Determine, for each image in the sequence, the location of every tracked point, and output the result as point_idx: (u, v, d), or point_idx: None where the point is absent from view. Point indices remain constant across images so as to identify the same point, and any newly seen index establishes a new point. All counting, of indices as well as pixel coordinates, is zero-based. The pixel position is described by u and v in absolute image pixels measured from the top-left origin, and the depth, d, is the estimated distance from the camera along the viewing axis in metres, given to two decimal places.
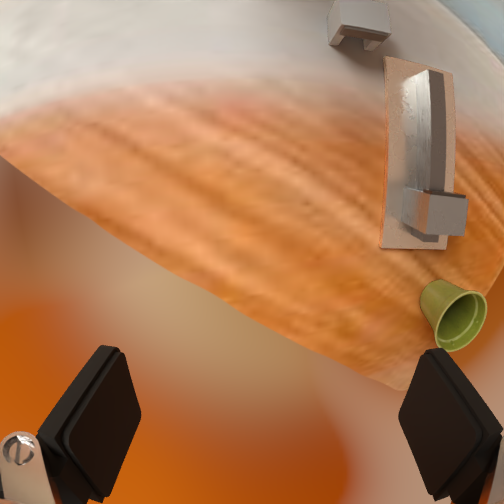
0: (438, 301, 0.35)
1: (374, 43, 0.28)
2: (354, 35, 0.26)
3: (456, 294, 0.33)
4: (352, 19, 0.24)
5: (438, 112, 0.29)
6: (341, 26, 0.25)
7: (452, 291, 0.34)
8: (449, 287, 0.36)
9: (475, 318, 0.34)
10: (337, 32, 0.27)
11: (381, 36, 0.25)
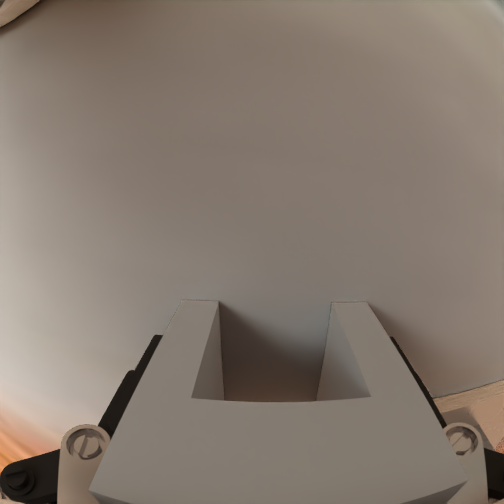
0: None
1: None
2: None
3: None
4: None
5: None
6: None
7: None
8: None
9: None
10: None
11: None
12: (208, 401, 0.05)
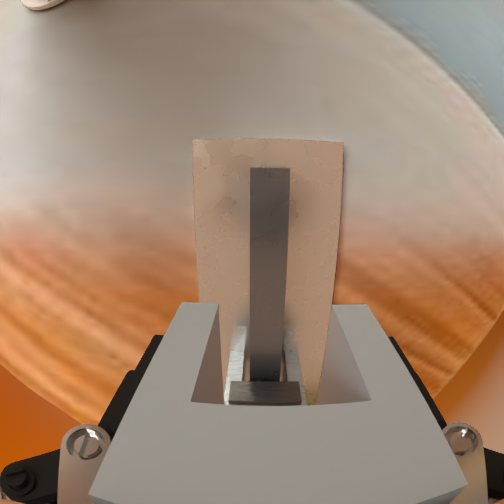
0: None
1: None
2: None
3: None
4: None
5: (268, 256, 0.20)
6: None
7: None
8: None
9: None
10: None
11: None
12: (208, 405, 0.05)
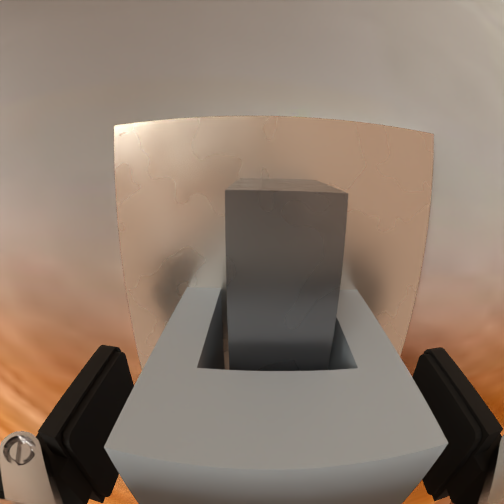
0: None
1: None
2: None
3: None
4: None
5: None
6: None
7: None
8: None
9: None
10: None
11: None
12: (212, 370, 0.06)
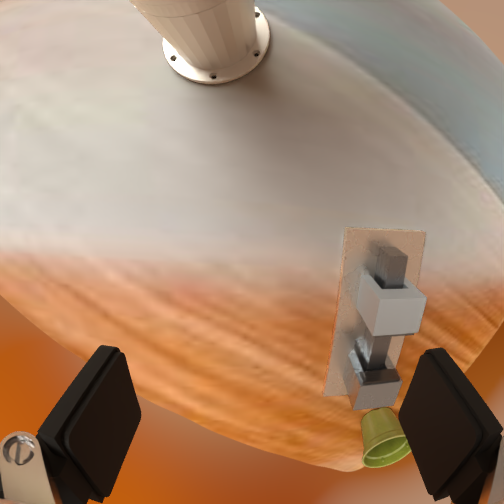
0: (370, 434, 0.40)
1: None
2: None
3: (384, 435, 0.37)
4: (384, 328, 0.30)
5: None
6: (371, 333, 0.31)
7: (384, 429, 0.39)
8: (384, 421, 0.40)
9: (406, 443, 0.39)
10: None
11: (407, 333, 0.31)
12: (384, 289, 0.32)
